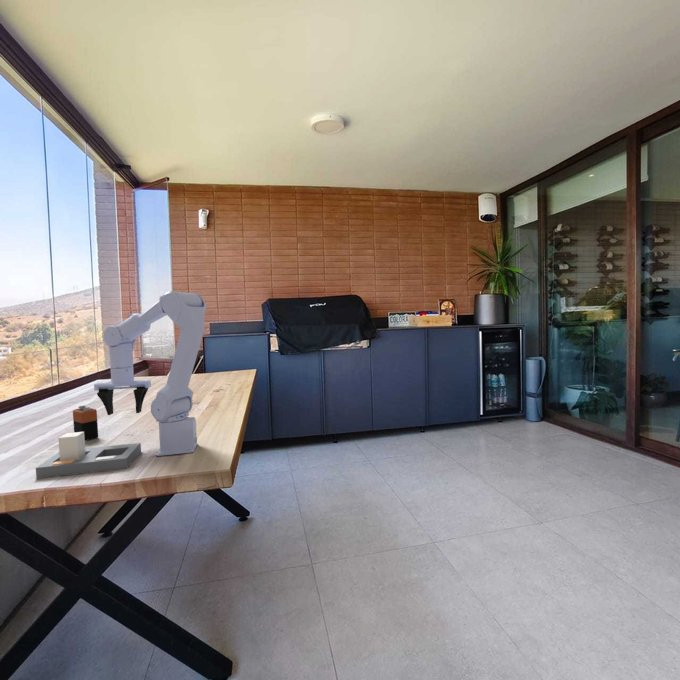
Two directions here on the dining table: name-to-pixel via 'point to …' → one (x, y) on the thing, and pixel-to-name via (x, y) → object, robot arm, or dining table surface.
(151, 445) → the dining table surface
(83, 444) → the plug
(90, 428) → the battery
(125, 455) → the socket block
